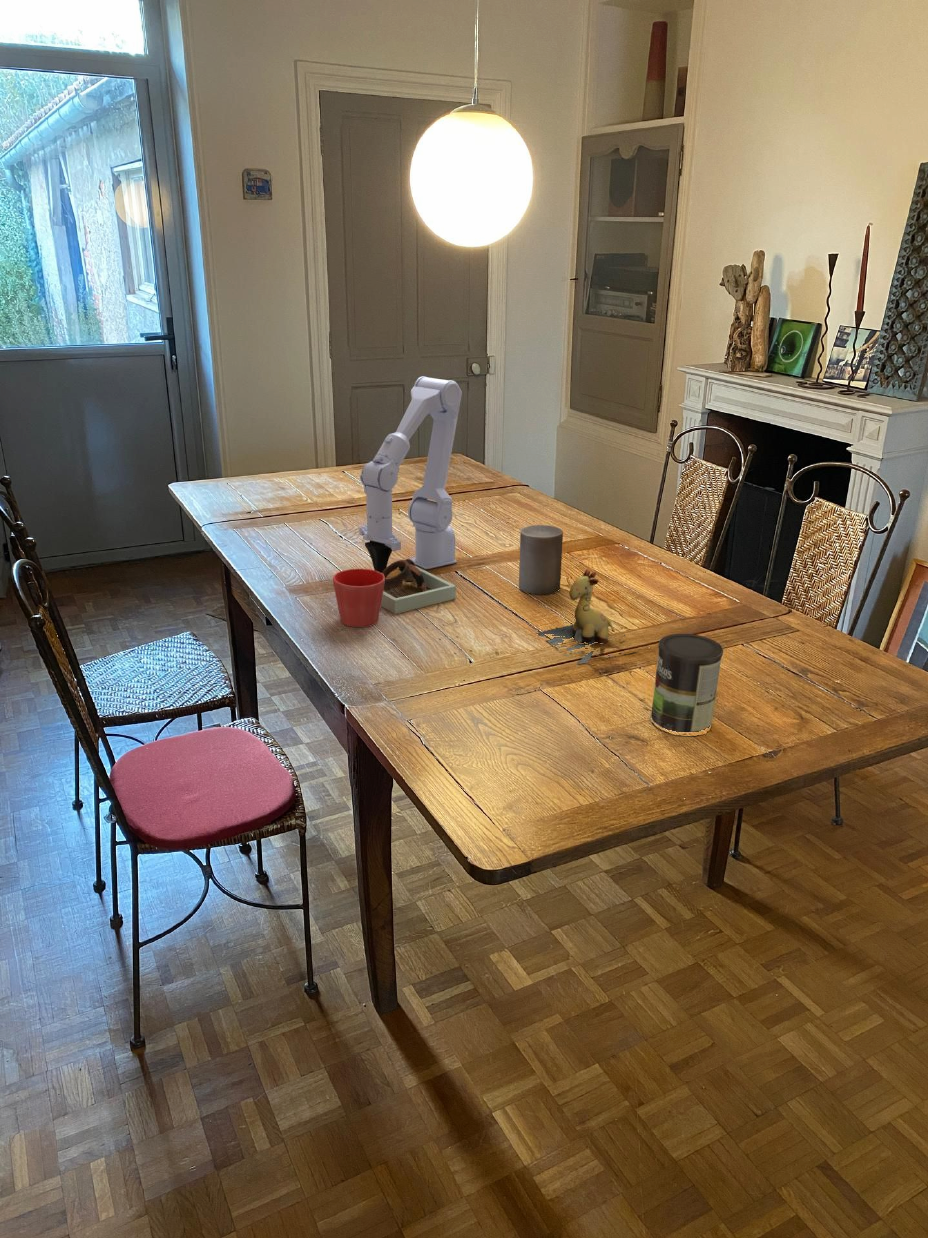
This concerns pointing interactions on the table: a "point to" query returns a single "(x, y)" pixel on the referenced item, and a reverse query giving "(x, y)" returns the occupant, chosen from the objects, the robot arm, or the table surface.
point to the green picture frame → (421, 595)
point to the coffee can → (686, 682)
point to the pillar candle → (540, 559)
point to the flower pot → (359, 596)
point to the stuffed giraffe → (583, 619)
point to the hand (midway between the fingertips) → (380, 572)
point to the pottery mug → (403, 575)
